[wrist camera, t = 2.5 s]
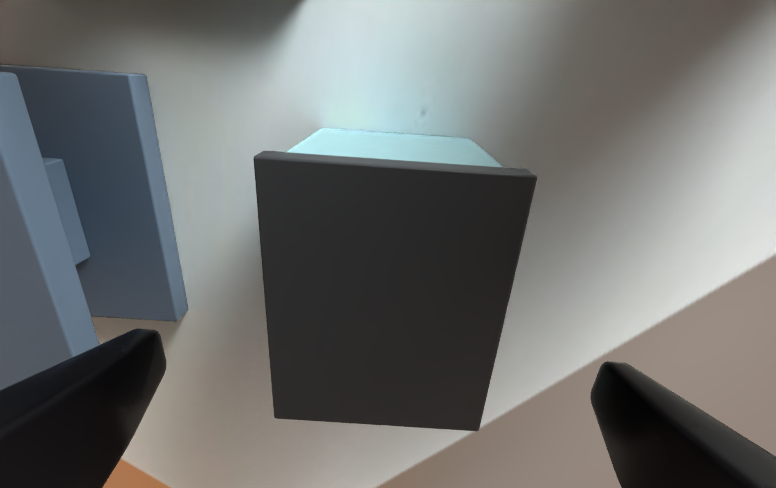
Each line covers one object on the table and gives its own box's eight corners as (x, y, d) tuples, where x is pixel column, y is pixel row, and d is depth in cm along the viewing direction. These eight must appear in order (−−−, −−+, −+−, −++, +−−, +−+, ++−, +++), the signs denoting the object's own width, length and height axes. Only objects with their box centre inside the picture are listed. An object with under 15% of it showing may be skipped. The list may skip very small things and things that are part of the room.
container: (476, 133, 14) (538, 176, 8) (449, 305, 17) (479, 432, 11) (315, 121, 14) (252, 156, 8) (317, 296, 17) (273, 419, 11)
